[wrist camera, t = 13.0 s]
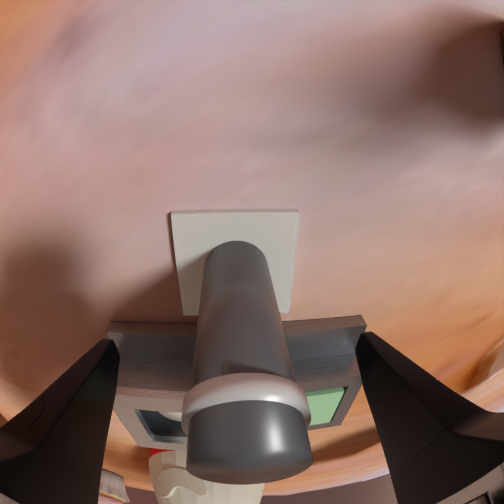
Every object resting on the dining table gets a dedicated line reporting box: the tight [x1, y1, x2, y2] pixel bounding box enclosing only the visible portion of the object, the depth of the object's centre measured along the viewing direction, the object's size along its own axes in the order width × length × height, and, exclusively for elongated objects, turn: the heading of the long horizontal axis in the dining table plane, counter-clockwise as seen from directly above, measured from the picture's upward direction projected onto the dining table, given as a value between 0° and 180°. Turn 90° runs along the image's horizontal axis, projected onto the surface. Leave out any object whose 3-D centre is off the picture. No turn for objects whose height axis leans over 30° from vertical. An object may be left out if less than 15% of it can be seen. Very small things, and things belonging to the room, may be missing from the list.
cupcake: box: [98, 469, 130, 504], centre depth 28 cm, size 9×9×10 cm
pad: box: [171, 209, 300, 315], centre depth 15 cm, size 6×6×1 cm
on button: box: [305, 387, 344, 425], centre depth 18 cm, size 4×4×2 cm
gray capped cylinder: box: [181, 241, 313, 485], centre depth 10 cm, size 4×4×10 cm
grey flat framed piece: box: [106, 315, 367, 451], centre depth 17 cm, size 12×16×4 cm
